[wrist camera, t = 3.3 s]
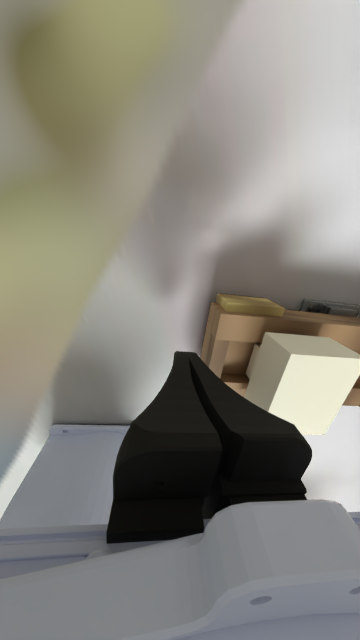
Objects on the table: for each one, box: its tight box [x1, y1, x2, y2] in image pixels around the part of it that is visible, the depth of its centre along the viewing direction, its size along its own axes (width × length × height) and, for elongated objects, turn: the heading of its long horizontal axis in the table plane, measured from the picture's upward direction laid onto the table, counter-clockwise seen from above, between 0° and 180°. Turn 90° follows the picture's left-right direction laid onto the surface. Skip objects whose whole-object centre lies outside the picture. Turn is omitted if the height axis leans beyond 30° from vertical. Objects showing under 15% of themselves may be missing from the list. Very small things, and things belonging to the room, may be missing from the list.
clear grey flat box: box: [300, 299, 360, 317], centre depth 17 cm, size 5×8×2 cm, turn 173°
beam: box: [200, 293, 360, 406], centre depth 15 cm, size 22×8×3 cm, turn 83°
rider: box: [244, 332, 360, 435], centre depth 12 cm, size 4×6×4 cm
